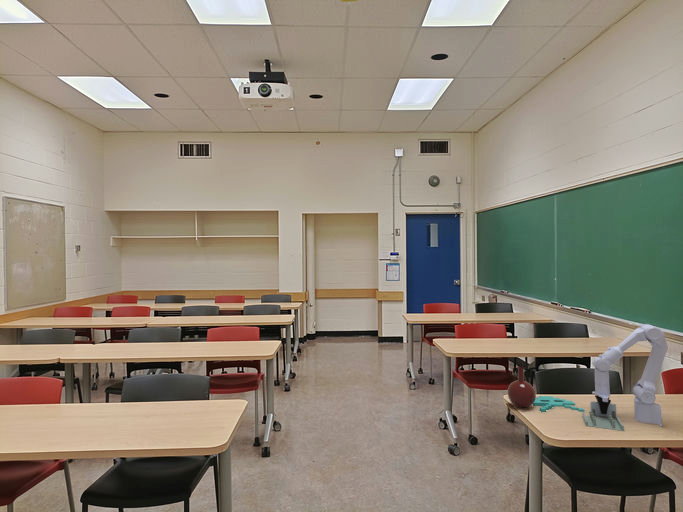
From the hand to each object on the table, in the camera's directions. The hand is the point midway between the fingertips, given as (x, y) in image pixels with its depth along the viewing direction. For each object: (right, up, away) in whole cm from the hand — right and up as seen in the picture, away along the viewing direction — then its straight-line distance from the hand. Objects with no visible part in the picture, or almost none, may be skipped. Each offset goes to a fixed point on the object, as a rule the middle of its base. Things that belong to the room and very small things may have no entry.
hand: (603, 412), depth 184 cm
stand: (0, -2, 0) cm, 2 cm away
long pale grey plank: (0, -1, 0) cm, 1 cm away
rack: (-6, -2, -9) cm, 11 cm away
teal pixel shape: (-14, -4, +17) cm, 22 cm away
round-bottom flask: (-31, -3, +15) cm, 35 cm away
